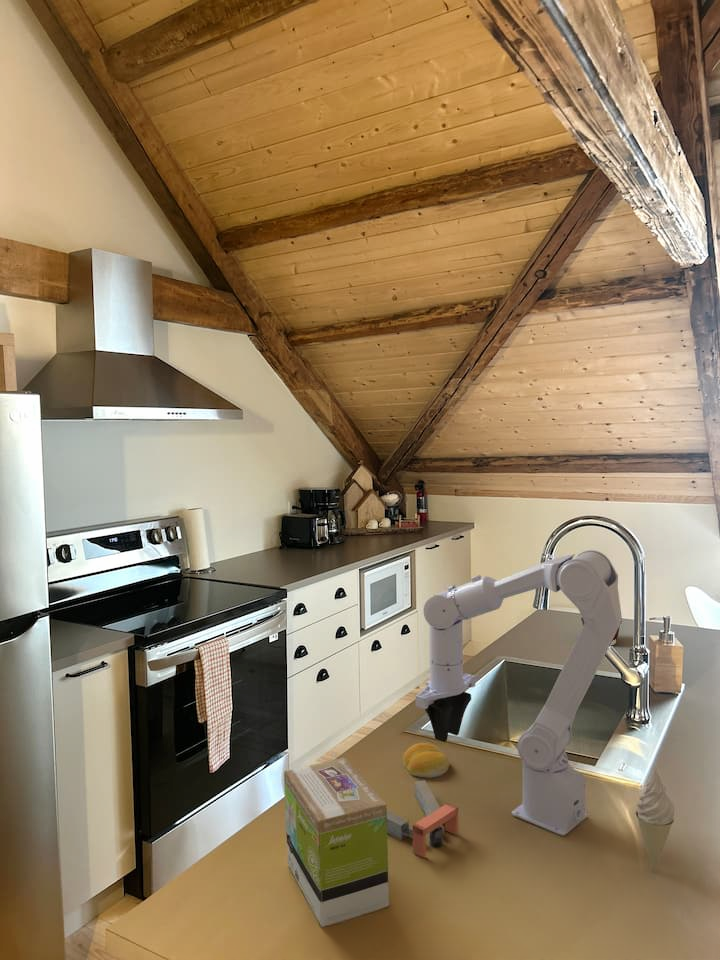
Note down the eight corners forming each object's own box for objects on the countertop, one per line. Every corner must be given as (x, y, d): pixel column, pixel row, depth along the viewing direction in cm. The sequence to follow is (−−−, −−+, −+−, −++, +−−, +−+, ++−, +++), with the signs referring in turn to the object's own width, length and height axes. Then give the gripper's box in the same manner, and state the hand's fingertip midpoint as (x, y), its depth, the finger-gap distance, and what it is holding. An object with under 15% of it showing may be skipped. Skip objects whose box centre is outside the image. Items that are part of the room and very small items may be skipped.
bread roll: (414, 782, 130) (413, 761, 130) (398, 761, 139) (398, 740, 138) (457, 776, 132) (456, 755, 132) (439, 755, 141) (438, 735, 141)
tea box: (284, 866, 106) (282, 768, 105) (348, 849, 110) (346, 754, 109) (320, 931, 92) (317, 818, 91) (391, 909, 96) (389, 801, 95)
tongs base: (445, 843, 110) (445, 828, 110) (429, 854, 108) (429, 839, 108) (369, 806, 122) (368, 792, 121) (352, 815, 119) (352, 801, 119)
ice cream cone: (670, 886, 99) (671, 780, 98) (631, 874, 102) (632, 771, 101) (676, 867, 104) (677, 765, 103) (638, 856, 106) (639, 757, 105)
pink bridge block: (458, 833, 113) (458, 807, 113) (423, 857, 107) (423, 830, 106) (448, 828, 114) (447, 802, 114) (413, 852, 108) (412, 825, 108)
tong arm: (449, 836, 112) (449, 822, 112) (438, 837, 112) (438, 823, 112) (424, 792, 126) (424, 780, 125) (414, 793, 125) (414, 781, 125)
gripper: (452, 646, 134) (453, 718, 135) (401, 665, 123) (402, 743, 124) (484, 654, 129) (485, 728, 130) (434, 675, 118) (435, 755, 119)
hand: (446, 736), depth 127 cm, fingers open, 3 cm apart
